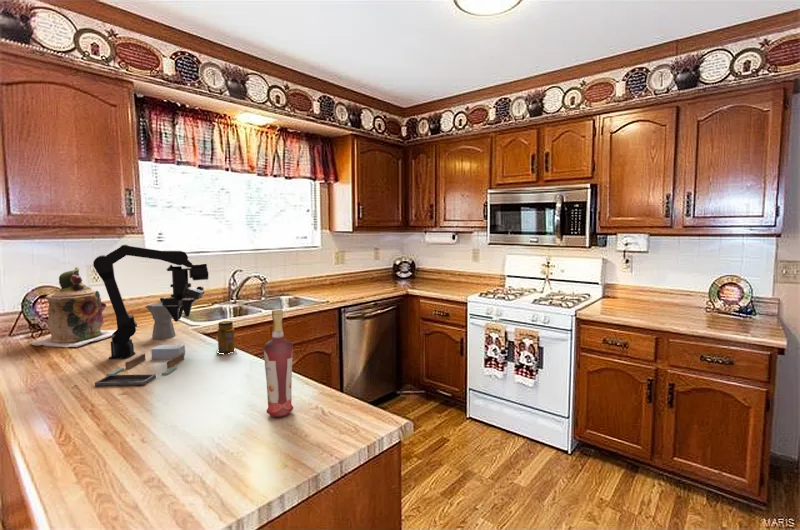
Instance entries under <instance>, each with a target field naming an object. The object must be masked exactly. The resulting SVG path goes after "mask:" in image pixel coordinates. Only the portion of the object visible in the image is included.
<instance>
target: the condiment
mask: <svg viewBox="0 0 800 530" xmlns="http://www.w3.org/2000/svg"><path fill="white" fill-rule="evenodd" d="M234 330H235V327H234V325H233V321H231V320H223V321H220V322H218V329H217V349H215V353H216V356H230V355H234V354H235V355H236V354H238V353H237V349H236V347H235V333H234ZM234 349H235V351H234ZM218 350H219V351H218ZM217 351H218V352H219V353H224V355H222V354H219V353H217ZM230 352H233V353H230ZM228 353H230V354H228ZM227 354H228V355H227Z"/></svg>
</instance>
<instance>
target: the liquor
mask: <svg viewBox="0 0 800 530" xmlns="http://www.w3.org/2000/svg"><path fill="white" fill-rule="evenodd" d="M283 313H284V312H283V309H282V308H281V309H279V308H278V309H272V310H271V319H272V322H273V323H272V335H271V340H269V341H267V342H265V344H264V345H263V355H264V369H265V370H264V371H265V379H266V381H265V382H266V393H267V394H266V395H267V409H266V413H267V414H268V415H269V416H271V417H272V418H275V419H280V418H284V417H287V416H288V415H290V413H291V412H292V411H293V410H294V406H293V404H292V385H293V384H292V382H293V379H292V377H293V342H292V341H290V340H288V339H286V338H285V337H284V336H285V335H284V329H283V327H284V326H283V318H284V314H283Z"/></svg>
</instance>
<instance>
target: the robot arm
mask: <svg viewBox="0 0 800 530" xmlns="http://www.w3.org/2000/svg"><path fill="white" fill-rule="evenodd" d="M126 256H131V257H135V258H136V257H137V258H145V259H153V260H160V261H164V262H167V263H170V265H169V266H168V267H167V268H166V269H165V270H166V271H167V272H171V277H172V284H169V286H170V288H172V294H170V296H168V297H165V298H164V297H163V298H164V299H163V300H162V306H164V307H166V309H167V310H168V311H169V313H170V314H171V316H172V319H173V321H174V322H175V323H177V322H179V320H180V319H179V310H180V307H181V306H182V307H183V313H184V315H185V317H188V318H189V317H190V313H191V309H192V307H193V304H194V303H195V302H196V301H197V300H200V299H202V298H203V295H204V294H205V290H204V289H205V288H204V287H203V286H200V285H198V286H197V287H193V286H192V283H190V282H189V278H190V279H192V281H207V280H209V271H208V267H207V266H208V265H207V263H198V264H195V263H194V264H193V262H192V261H190V260H189V257H188V254H187V253H186V252H185V251H183V250H178V249H177V250H169V249H168V250H159V249H153V248H145V247H139V246H133V245H132V246H131V245H128V244H122V245H120V246H119V247H118V248H117V249H115V250H113V251H110V252H109V253H107V254H105V255H104V254H103V255H98V256H97V257H96V258H95V259H94V260H93V264H92V265H93V268H94V269H95V271H96V272H97V274H98V276H99V277H100V278H101V280H102V282H103V283H104V287H105V290H106V292H107V295H108V298H109V300H110V303H111V306H112V309H113V311H114V314H115V318H116V327H117V328H116V329H115V330H116V331H115V332H114V333H113V334H112V336H111V341H110V352H111V353H110V356H109V357H108V359H111V360H112V359H113V360H114V359H116V360H117V359H128V358H129V357H131V356H133V355H136V351H135V347H134V342H133V339H131V337H133V336H134V335H135V333H136V332H137V327H138V323H137V322H136V320H135V316H134V313H132V314H131V315H130V314H129V313H128V311H127V309H126V306H125V303H124V300H123V297H122V294H121V292H120V288H119V286H118V283H117V281H116V277H115V269H114V264H115V263H118V261H120V260H121V259H123V258H125V257H126ZM173 265H176V266H173ZM182 266H184V267H185V268H183V267H182ZM181 304H182V305H181Z"/></svg>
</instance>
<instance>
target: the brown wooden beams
mask: <svg viewBox="0 0 800 530" xmlns="http://www.w3.org/2000/svg"><path fill="white" fill-rule="evenodd" d="M184 360H185V355H184V353H180V354H178V355H177V356H175V357H173V358H172V359H169V360H167V361H166V370H167V369H169V368H170V367H176V366H177V365H178V364H180V363H181V362H183V361H184ZM144 361H146V354H145V353H140V354H139V355H137V356H135V357H133V358H131V359H128V360H127V361H125V362H124V363H125V370H130V369H132V368H134V367H136V366H137V365H139V364H141V363H143V362H144Z"/></svg>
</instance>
